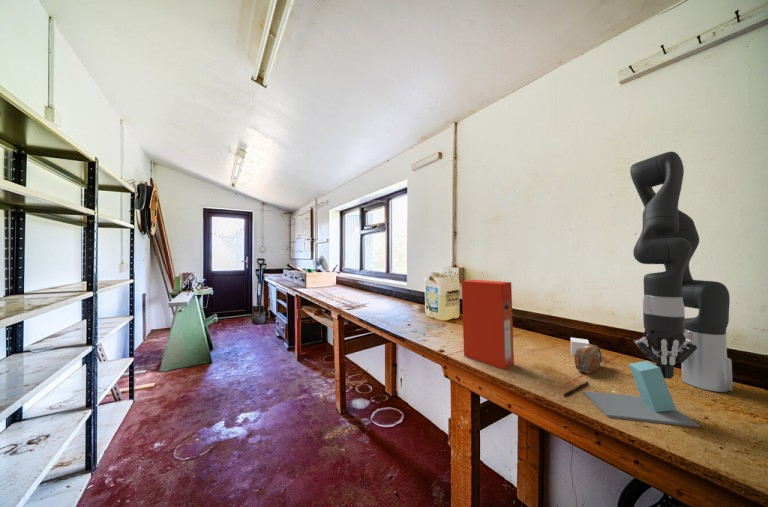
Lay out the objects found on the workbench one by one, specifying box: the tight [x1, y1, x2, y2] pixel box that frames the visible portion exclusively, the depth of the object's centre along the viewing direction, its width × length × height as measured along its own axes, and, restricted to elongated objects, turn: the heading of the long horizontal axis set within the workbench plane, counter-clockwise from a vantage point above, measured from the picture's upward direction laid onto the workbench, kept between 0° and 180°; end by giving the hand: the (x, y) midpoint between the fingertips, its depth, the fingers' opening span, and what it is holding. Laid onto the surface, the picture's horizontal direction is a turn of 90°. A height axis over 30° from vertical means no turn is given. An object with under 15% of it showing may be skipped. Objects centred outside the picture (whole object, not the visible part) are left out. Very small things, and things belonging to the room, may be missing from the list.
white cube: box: [570, 337, 590, 357], centre depth 108 cm, size 6×6×6 cm
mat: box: [582, 390, 701, 428], centre depth 70 cm, size 19×12×1 cm, turn 76°
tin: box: [573, 343, 602, 374], centre depth 94 cm, size 15×3×8 cm, turn 120°
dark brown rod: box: [563, 381, 589, 398], centre depth 80 cm, size 15×1×1 cm, turn 120°
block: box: [628, 360, 677, 412], centre depth 69 cm, size 4×4×11 cm
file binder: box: [461, 279, 515, 370], centre depth 104 cm, size 8×17×32 cm, turn 38°
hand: (664, 377), depth 68 cm, fingers closed
